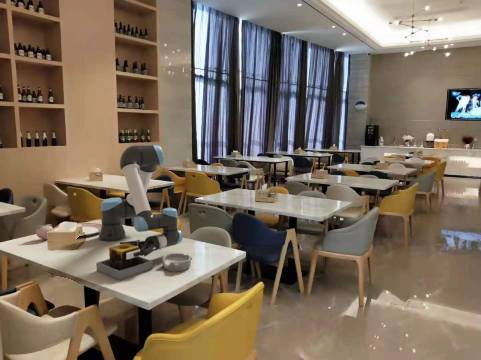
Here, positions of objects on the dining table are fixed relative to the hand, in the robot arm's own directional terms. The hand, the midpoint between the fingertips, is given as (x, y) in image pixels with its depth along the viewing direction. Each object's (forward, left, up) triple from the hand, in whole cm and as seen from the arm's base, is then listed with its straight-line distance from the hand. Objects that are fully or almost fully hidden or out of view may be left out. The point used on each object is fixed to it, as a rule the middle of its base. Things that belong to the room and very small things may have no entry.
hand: (117, 253), depth 180 cm
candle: (0, +3, -8) cm, 9 cm away
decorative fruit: (-76, +1, -9) cm, 77 cm away
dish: (+15, +22, -9) cm, 28 cm away
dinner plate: (-75, +23, -10) cm, 79 cm away
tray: (0, +3, -9) cm, 10 cm away
